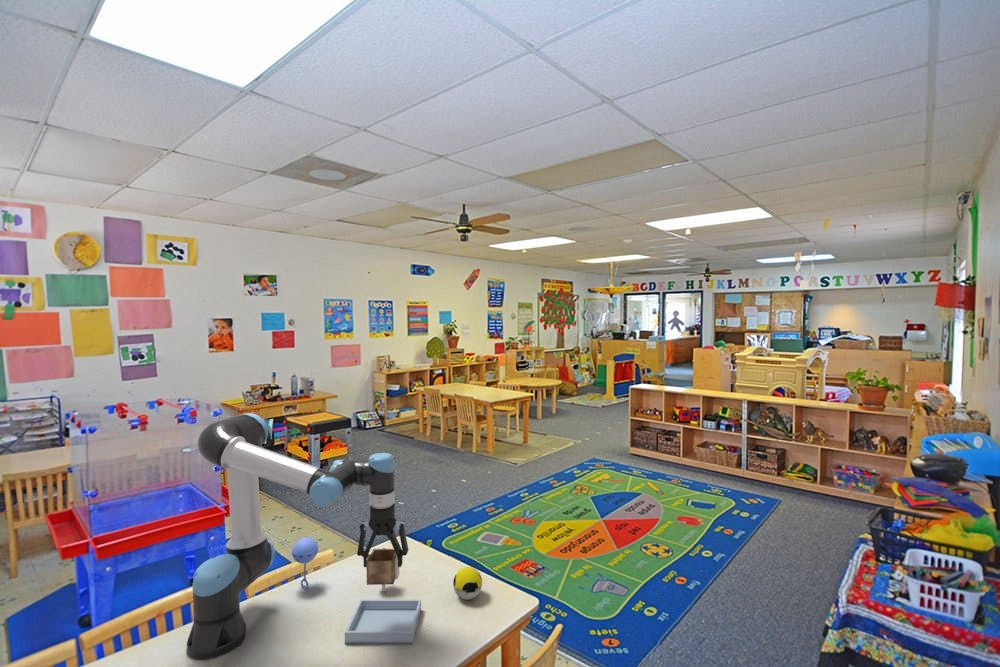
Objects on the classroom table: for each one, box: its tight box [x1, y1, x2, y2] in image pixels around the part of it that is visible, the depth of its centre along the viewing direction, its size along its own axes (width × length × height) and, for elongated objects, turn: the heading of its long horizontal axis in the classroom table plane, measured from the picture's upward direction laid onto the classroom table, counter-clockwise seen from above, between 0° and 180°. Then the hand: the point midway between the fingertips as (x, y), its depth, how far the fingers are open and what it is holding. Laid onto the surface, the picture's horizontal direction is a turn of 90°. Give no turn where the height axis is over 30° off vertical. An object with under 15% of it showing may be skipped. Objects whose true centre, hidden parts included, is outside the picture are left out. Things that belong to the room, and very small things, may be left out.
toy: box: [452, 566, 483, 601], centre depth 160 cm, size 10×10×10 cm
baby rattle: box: [291, 537, 319, 590], centre depth 164 cm, size 9×9×18 cm
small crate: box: [366, 548, 397, 586], centre depth 144 cm, size 8×8×7 cm
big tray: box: [344, 599, 422, 645], centre depth 145 cm, size 20×16×4 cm
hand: (383, 576), depth 144 cm, fingers closed on small crate, 8 cm apart
